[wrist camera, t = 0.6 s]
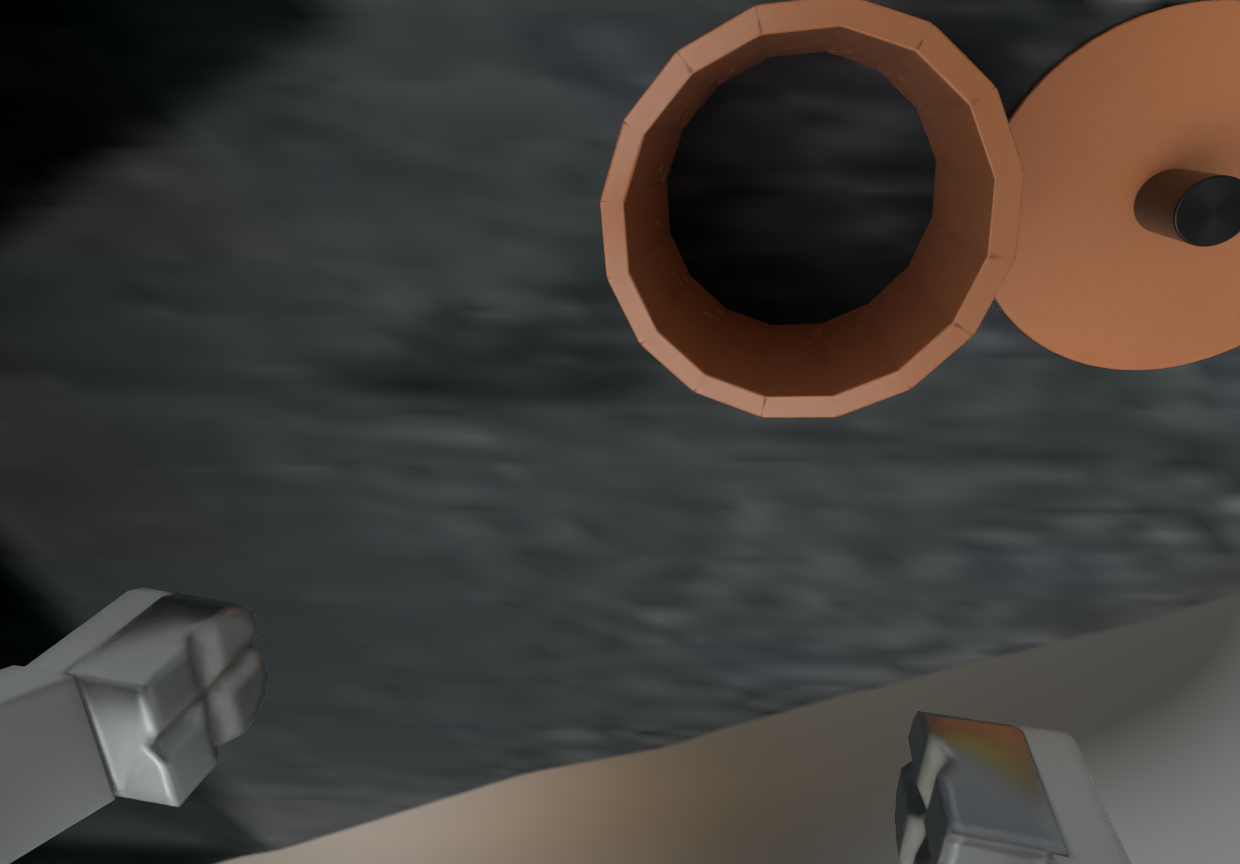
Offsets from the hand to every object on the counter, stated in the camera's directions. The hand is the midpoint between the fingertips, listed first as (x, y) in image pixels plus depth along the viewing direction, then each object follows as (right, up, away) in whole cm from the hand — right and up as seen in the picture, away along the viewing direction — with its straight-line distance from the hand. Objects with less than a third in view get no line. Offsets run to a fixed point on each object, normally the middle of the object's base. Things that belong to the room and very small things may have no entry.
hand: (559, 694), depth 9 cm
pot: (+8, +13, +24) cm, 29 cm away
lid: (+22, +12, +21) cm, 33 cm away
